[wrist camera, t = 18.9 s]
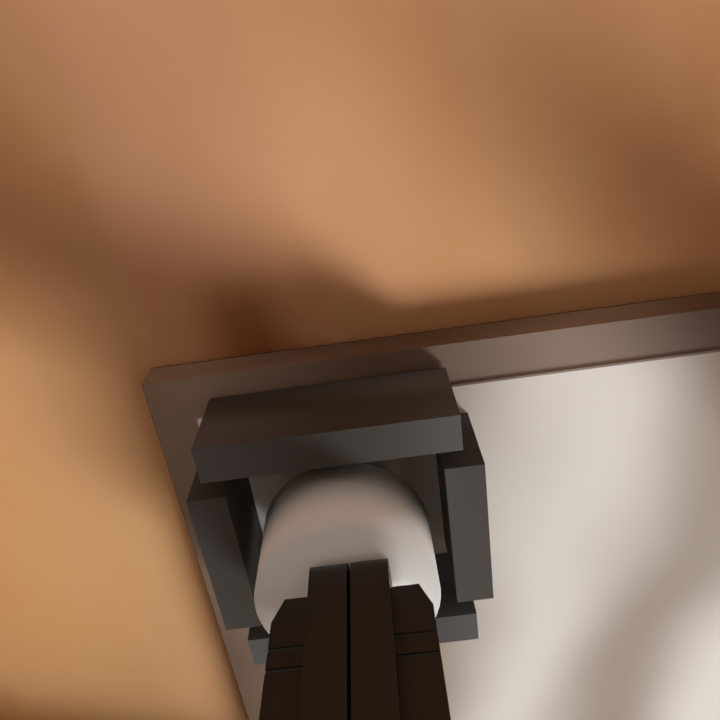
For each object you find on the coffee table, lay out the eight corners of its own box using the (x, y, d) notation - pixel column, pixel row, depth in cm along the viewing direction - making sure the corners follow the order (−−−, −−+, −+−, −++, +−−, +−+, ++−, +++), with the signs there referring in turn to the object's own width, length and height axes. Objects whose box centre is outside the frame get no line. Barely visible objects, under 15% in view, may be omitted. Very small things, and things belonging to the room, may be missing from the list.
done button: (281, 599, 15) (273, 674, 14) (249, 473, 14) (235, 539, 12) (435, 581, 15) (447, 653, 14) (420, 451, 14) (432, 514, 12)
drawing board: (276, 772, 22) (267, 873, 19) (151, 368, 15) (111, 437, 13) (1028, 689, 21) (1127, 782, 18) (1241, 221, 14) (1441, 263, 12)
